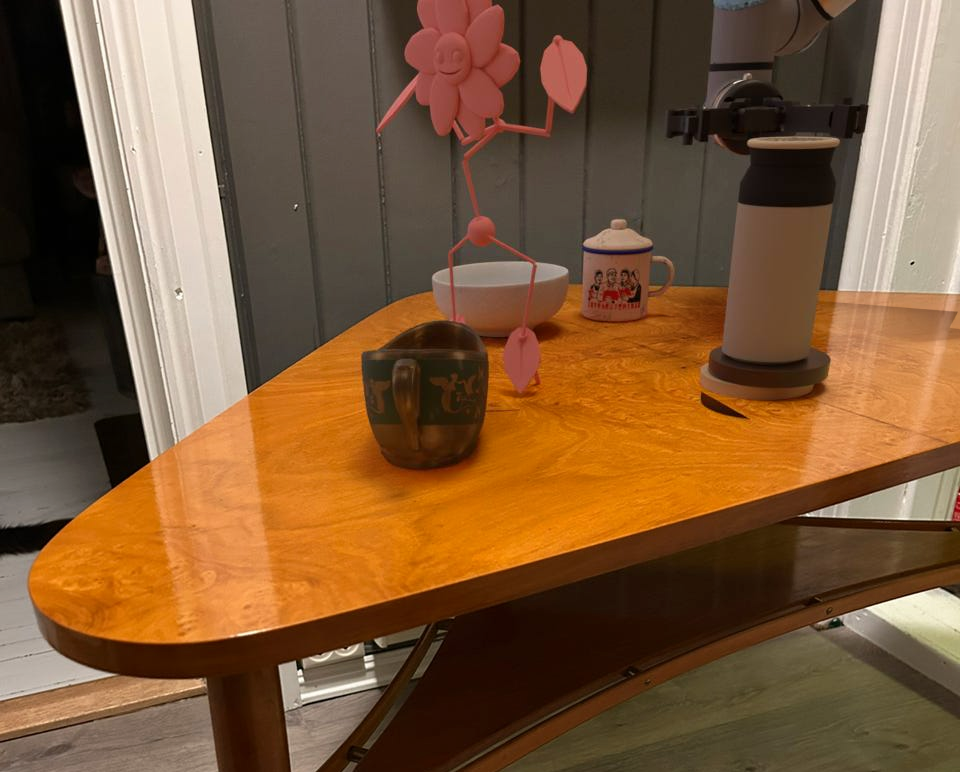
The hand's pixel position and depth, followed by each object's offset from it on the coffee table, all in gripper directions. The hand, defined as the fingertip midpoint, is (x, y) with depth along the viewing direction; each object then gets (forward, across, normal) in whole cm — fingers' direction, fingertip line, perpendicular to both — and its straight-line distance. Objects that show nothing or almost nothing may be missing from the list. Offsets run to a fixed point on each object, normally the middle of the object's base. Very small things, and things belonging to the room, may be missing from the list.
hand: (777, 124), depth 90 cm
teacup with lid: (-25, -13, +23) cm, 37 cm away
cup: (+27, -31, +23) cm, 47 cm away
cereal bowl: (-17, -28, +23) cm, 40 cm away
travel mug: (+13, -1, +19) cm, 23 cm away
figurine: (+10, -30, +23) cm, 39 cm away
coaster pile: (+13, -1, +23) cm, 27 cm away
